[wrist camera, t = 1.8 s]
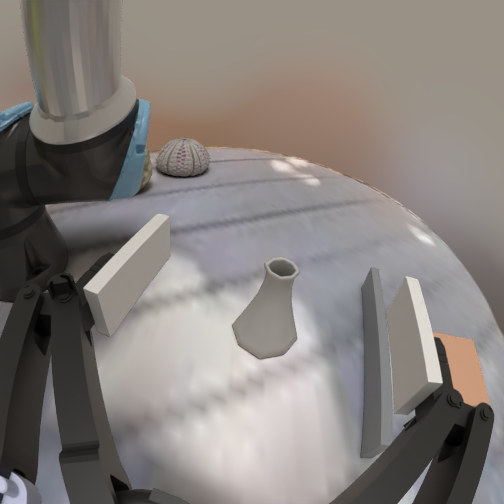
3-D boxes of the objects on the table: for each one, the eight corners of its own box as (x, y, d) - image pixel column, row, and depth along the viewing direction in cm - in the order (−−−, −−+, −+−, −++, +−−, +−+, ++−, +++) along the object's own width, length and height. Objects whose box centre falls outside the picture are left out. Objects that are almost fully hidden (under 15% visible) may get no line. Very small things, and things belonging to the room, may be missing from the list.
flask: (257, 369, 29) (276, 305, 24) (221, 323, 34) (228, 255, 28) (307, 342, 33) (334, 278, 27) (270, 303, 38) (286, 238, 32)
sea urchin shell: (196, 184, 64) (198, 150, 59) (144, 174, 65) (144, 142, 61) (216, 166, 74) (220, 137, 70) (170, 158, 76) (172, 130, 71)
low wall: (371, 458, 21) (392, 445, 19) (360, 457, 22) (380, 444, 19) (368, 289, 42) (378, 269, 40) (361, 287, 43) (371, 267, 40)
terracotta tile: (485, 408, 25) (489, 405, 25) (420, 405, 26) (423, 402, 26) (470, 343, 35) (472, 340, 34) (410, 331, 36) (413, 327, 36)
